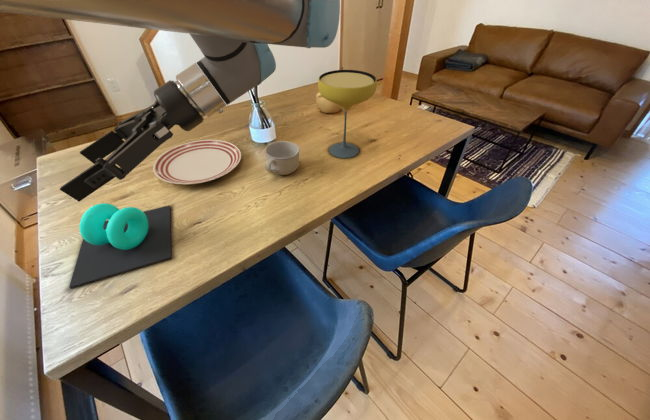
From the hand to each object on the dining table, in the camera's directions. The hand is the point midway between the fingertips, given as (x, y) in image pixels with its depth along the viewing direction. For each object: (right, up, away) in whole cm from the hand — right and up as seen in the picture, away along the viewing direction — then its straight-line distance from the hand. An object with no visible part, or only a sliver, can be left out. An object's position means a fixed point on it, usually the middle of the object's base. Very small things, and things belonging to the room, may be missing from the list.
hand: (79, 174), depth 44 cm
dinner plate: (-3, +9, +49) cm, 50 cm away
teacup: (+25, +7, +47) cm, 53 cm away
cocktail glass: (+46, +16, +57) cm, 75 cm away
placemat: (-10, -14, +24) cm, 30 cm away
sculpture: (+42, +40, +83) cm, 102 cm away
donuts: (-10, -13, +24) cm, 29 cm away
